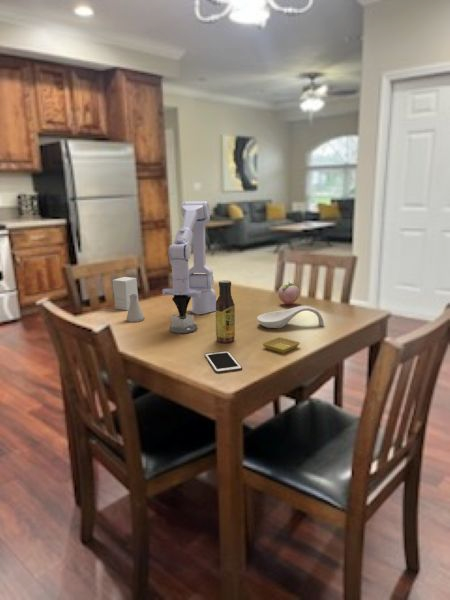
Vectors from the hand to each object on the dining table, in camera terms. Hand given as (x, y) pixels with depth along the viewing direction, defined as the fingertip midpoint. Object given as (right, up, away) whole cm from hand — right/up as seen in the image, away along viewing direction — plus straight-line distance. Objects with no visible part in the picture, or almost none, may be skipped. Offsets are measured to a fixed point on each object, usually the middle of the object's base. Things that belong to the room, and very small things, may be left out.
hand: (182, 315), depth 162 cm
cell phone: (+14, -13, -29) cm, 35 cm away
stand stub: (-4, -2, +14) cm, 14 cm away
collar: (0, -4, +1) cm, 4 cm away
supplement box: (-27, +2, +33) cm, 42 cm away
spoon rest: (+38, -4, +3) cm, 39 cm away
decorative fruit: (+42, +3, +30) cm, 51 cm away
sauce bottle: (+15, -8, -11) cm, 20 cm away
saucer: (+33, -10, -19) cm, 39 cm away
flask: (-20, -2, +15) cm, 25 cm away
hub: (0, -5, +1) cm, 5 cm away
